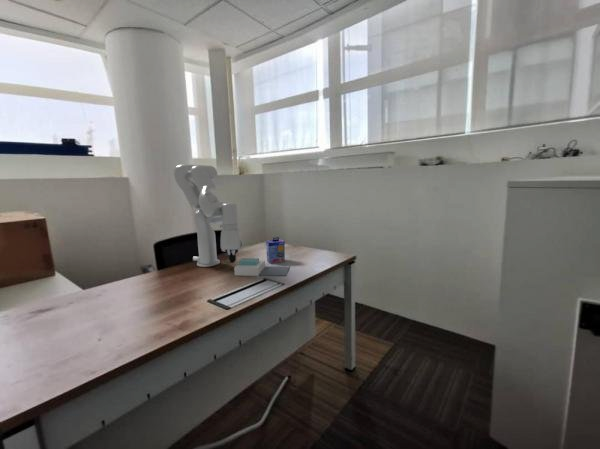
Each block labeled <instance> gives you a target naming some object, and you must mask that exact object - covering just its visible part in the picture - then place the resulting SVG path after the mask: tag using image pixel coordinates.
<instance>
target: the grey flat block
mask: <svg viewBox="0 0 600 449" xmlns="http://www.w3.org/2000/svg"><path fill="white" fill-rule="evenodd" d="M265 261H266V260H265V259H259V263H258V264H257V265H239V263H237V265H236V266H235V267H234V276H245V277H247V276H250V277H251V276H252V277H254V276H256V277H260V274H261V272H262V271H263V269H264V268H265V267H266V265H265V264H266V263H265Z"/></svg>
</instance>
